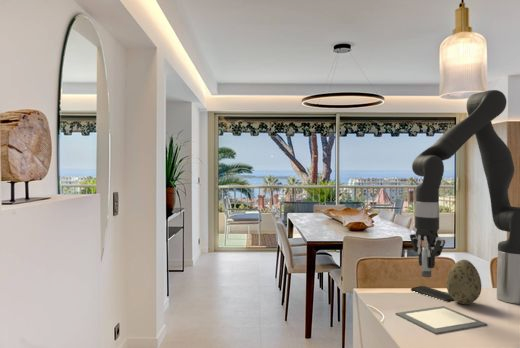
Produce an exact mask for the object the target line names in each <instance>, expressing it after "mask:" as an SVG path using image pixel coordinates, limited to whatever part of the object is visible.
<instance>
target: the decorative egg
mask: <svg viewBox="0 0 520 348" xmlns="http://www.w3.org/2000/svg"><path fill="white" fill-rule="evenodd" d="M445 286H446V290H447V293H449V295H450V296H451V297H452V298H453V299H454V300H453V299H452V300H453V301H455V302H456V303H459V304H462V305H469V304H473V303H474V302H476V301H477V299H478V298H479V297H480V295H481V292H482V279H481V276H480V273H479V271H478V269H477V268H476V267H475V265H474V264H473V263H472V262H471V261H469V260H467V259H460V260H458V261H457V262H455V263H454V264H453V265H452V267H451V268H450V269H449V271H448V274H447V276H446V283H445Z"/></svg>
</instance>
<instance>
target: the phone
mask: <svg viewBox="0 0 520 348" xmlns="http://www.w3.org/2000/svg"><path fill="white" fill-rule="evenodd" d="M410 291H411V292H413V291H415V292H414V293H416V292H418V293H417V294H419V293H422V294H421V295H423V294H425V295H424V296H426V295H428V296H427V297H429V296H431V297H430V298H432V297H434V298H433V299H435V298H437V299H436V300H438V299H440V300H439V301H441V300H443V302H445V301H448V302H451V300H452V301H455V300H454V299H453V298H452V297H451V296H450V295H449V293H448V292H446V291H442V290H438V289H435V288H433V287H428V286H423V285H420V286H416V287H411V288H410Z"/></svg>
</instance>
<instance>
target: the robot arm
mask: <svg viewBox="0 0 520 348" xmlns="http://www.w3.org/2000/svg"><path fill="white" fill-rule="evenodd" d="M507 102H508V101H507V97H506V95H505V94H504V92H502V91H501V90H497V89H491V90H486V91H485V90H484V91H481V92H477V93H473V94H472V95H470V96H469V97H468V99H467V100H466V111H467V115H468V116H467V117H466V118H464V119H463V120H461V121H459V122H458V123H456V124H455V125H453V126H452V127H450V128H449V129H448V130H446V131H445V132H444V133H443V134H442V135H441V136H440V137H439V138H438V139H437V140H436V142H434V144H432V145H431V146H429V147H428V148H426V149H425V150H423V152H421V153H419V154H418V155H417V156H416V157H415V158H414V160H413V161H412V164H411V169H412V171H413V173H414V174H415V175H417V176H418V177H423V179H422V182H421V183H419V184H418V185H416V187H415V188H416V189H415V206H414V229H416V231H415V233H413V234H409V240H410V243H411V246H412V248H413V251H414V252H417V255H418V265H419V266H420V267H422V240H424V241H425V247H426V250H427V254H428V257H427V267H428V268H431V269H434V267H435V266H436V257H439V256H441V255H442V252H443V249H444V246H445V244H446V240H445V239H442V238H440V237H439V233H438V232H439V230H440V204H439V202H440V201H439V197H440V195H439V194H440V190H439V189H440V187H441V183H442V180H443V176H444V171H445V165H444V161H446V160H449V159H451V158H452V157H453V156H454V155H455V154H456V153H457V152H458V151H459V150H460V149H461V148H462V147H463V146H464V145H465V144H466V143H467V141H469V140H470V139H472V137H473V136H475V138H476V142H477V145H478V149H479V153H480V159H481V162H482V167H483V171H484V174H485V178H486V182H487V188H488V193H489V194H488V195H489V199H490V207H491V216H492V221H493V224H494V226H495V227H496V228H497V229H498V230H500V231H502V232H508V233H509V235H508V238H507V240H502V241H499V242H498V243H497V261H496V262H497V264H496V266H497V268H496V299H498V300H500V301H502V302H504V303H505V302H506V303H511V304H516V305H517V304H518V305H519V304H520V207H518V206H512V205H511V203H510V198H509V188H510V185H511V182H512V181H513V178H514V174H515V163H514V160H513V156H512V152H511V150H510V148H509V147H508V146H507V144H506V143H505V142H504V141H503V139H502V138H501V137H500V136H499V135H498V134H497V132H496V130H495V129H494V125H493V123H492V121H493V120H494V119H496V118H497V117H499V116H500V115H502V114H503V112H504V111H505V109H506V107H507ZM429 246H432V247H429ZM431 250H432V253H431Z"/></svg>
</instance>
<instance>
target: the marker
mask: <svg viewBox="0 0 520 348" xmlns="http://www.w3.org/2000/svg"><path fill="white" fill-rule="evenodd" d="M429 247H432V246H429ZM431 253H432V250H431ZM427 257H428V254H427V250H426V247H425V241H424V240H422V266H421V277H424V278H431V277H432V268H428V267H427Z"/></svg>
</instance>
